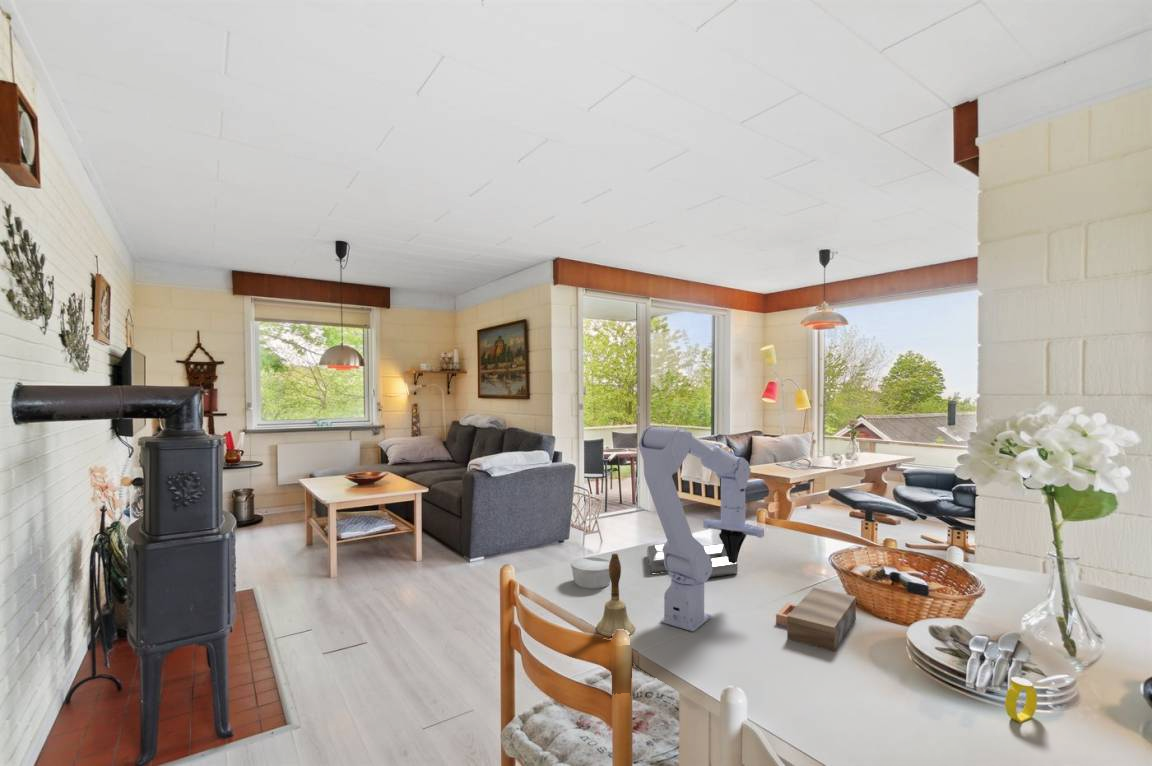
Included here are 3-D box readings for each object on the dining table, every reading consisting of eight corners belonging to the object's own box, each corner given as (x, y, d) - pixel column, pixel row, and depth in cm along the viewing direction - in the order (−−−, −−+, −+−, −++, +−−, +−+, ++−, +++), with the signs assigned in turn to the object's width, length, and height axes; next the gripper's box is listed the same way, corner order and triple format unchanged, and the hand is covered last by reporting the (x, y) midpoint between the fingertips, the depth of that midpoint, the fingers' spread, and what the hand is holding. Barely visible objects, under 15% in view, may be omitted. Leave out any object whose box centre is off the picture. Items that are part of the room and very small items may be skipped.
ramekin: (614, 576, 151) (614, 557, 151) (613, 591, 140) (613, 571, 140) (573, 575, 152) (573, 555, 152) (569, 590, 141) (569, 569, 141)
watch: (1021, 711, 89) (1023, 674, 90) (1041, 720, 87) (1043, 682, 87) (999, 717, 87) (1001, 679, 87) (1019, 727, 84) (1021, 688, 85)
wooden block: (834, 651, 108) (834, 627, 108) (787, 638, 114) (787, 615, 114) (855, 617, 124) (855, 596, 124) (813, 607, 130) (813, 587, 130)
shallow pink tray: (835, 638, 114) (835, 629, 114) (776, 623, 121) (776, 614, 121) (843, 625, 120) (843, 616, 120) (787, 611, 127) (787, 602, 127)
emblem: (670, 529, 180) (755, 545, 162) (670, 546, 180) (755, 563, 162) (623, 550, 157) (715, 570, 140) (623, 569, 157) (715, 591, 140)
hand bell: (588, 631, 117) (588, 556, 117) (608, 617, 124) (608, 546, 124) (623, 641, 113) (623, 563, 113) (641, 626, 119) (641, 552, 119)
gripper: (768, 507, 132) (768, 563, 132) (711, 499, 141) (711, 552, 141) (758, 512, 127) (758, 571, 127) (699, 504, 135) (699, 559, 135)
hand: (732, 562), depth 133 cm, fingers closed
